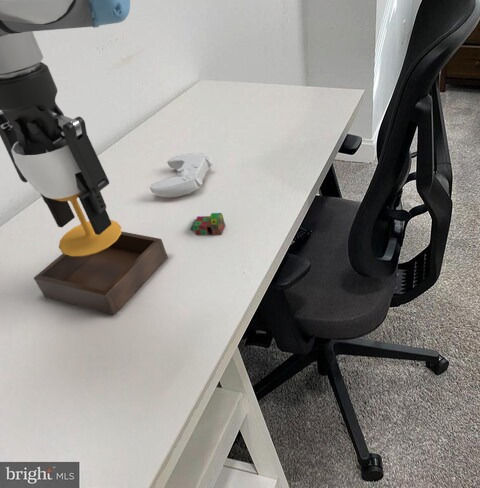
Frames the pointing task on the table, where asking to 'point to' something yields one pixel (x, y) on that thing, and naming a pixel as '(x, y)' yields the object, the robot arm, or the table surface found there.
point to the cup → (64, 196)
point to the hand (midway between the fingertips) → (84, 225)
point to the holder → (103, 273)
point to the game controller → (183, 175)
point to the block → (209, 224)
